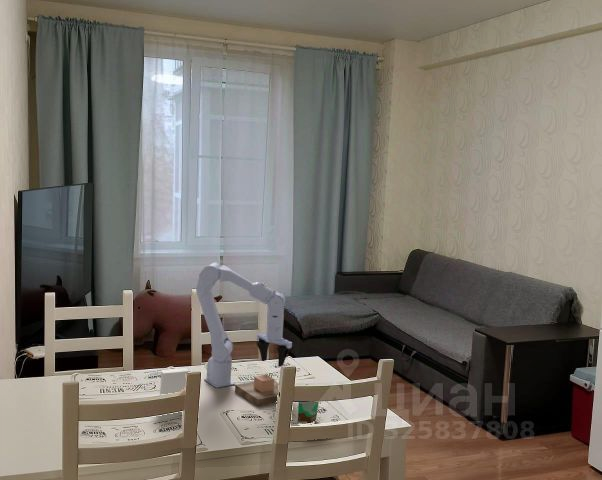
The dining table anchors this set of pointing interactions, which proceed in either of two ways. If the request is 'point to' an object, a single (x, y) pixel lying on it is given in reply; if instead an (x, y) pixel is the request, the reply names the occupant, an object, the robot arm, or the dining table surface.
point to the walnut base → (257, 394)
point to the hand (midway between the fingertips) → (272, 362)
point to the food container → (307, 412)
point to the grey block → (173, 380)
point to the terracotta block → (263, 383)
